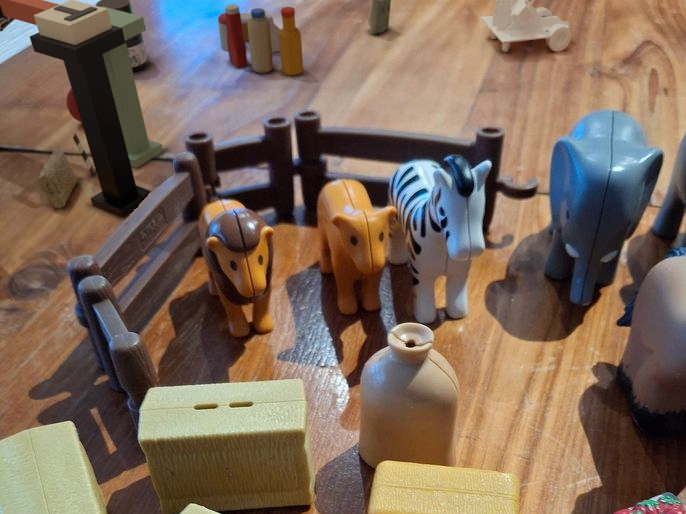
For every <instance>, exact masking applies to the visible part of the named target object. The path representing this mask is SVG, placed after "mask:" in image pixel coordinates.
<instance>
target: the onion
mask: <svg viewBox="0 0 686 514" xmlns="http://www.w3.org/2000/svg"><path fill="white" fill-rule="evenodd" d="M66 108H67V110H68V112H69V114H70V115H71V117H72V118H73V119H75V120H76V121H77V122H80V123H82V122H81V118H80V115H79V112H78V108H77V105H76V102H75V98H74V95H73V91H72V88H70V89H69V91H68V93H67V96H66Z"/></svg>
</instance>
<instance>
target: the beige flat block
mask: <svg viewBox="0 0 686 514" xmlns="http://www.w3.org/2000/svg"><path fill="white" fill-rule="evenodd" d="M0 5H1V8H2V11H3V14H4V16H6V17H9V18H13V19H15V20H16V21H19V22H24V23H27V24H29V25H34V26H36V27H37V30H38V32H39V34H40V35H41V36H45V37H48V38H52V39H55V40H59V41H62V42H65V43H69V44H72V45H77V44H79V43H81V42H84V41H86V40H88V39H90V38H92V37H94V36H97V35H99V34H101V33H103V32H105V31H107V30H110V29H112V27H111V23H110V19H109V14H108V10H107V9H106V8H102V7H98V6H96V5H94V4H90V3H86V2H82V1H78V0H67V1H65V2H63V3H60V4H59V3H56V2H52V1H47V0H0Z"/></svg>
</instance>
